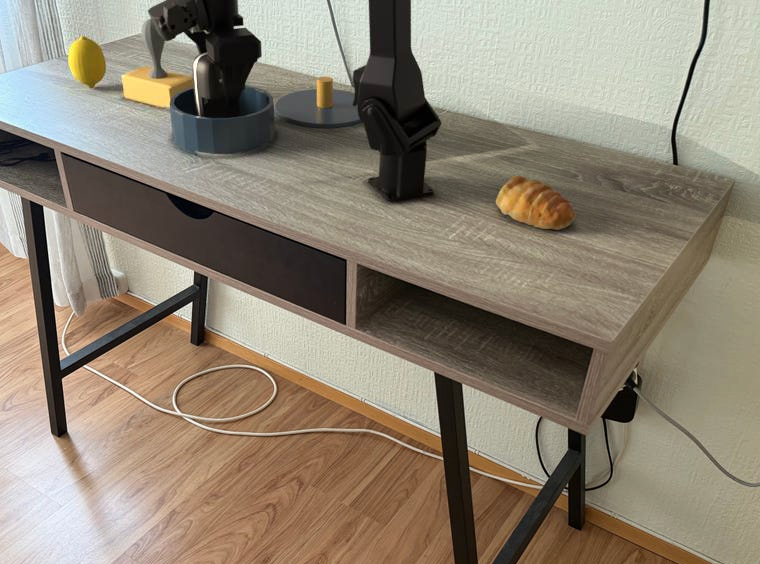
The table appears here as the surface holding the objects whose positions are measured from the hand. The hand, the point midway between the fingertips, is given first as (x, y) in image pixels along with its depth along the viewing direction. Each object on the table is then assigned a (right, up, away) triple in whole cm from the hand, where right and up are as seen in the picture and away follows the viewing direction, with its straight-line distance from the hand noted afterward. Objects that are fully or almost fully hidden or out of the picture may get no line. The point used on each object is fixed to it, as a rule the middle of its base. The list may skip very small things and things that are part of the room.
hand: (222, 94), depth 112 cm
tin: (0, -5, +4) cm, 6 cm away
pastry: (+40, -19, -13) cm, 46 cm away
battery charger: (0, -5, +4) cm, 6 cm away
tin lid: (+14, +2, +12) cm, 18 cm away
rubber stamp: (-12, +4, +15) cm, 20 cm away
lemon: (-24, +7, +19) cm, 31 cm away
